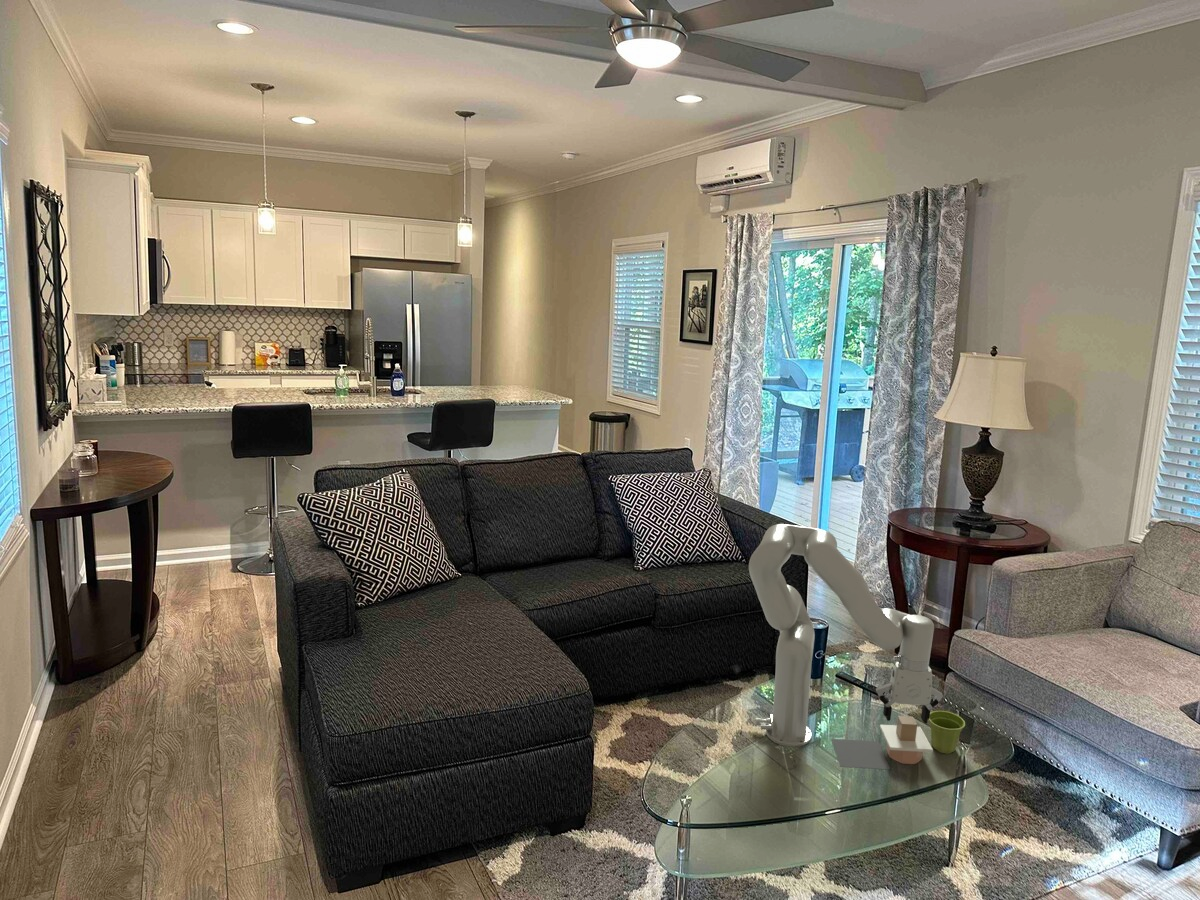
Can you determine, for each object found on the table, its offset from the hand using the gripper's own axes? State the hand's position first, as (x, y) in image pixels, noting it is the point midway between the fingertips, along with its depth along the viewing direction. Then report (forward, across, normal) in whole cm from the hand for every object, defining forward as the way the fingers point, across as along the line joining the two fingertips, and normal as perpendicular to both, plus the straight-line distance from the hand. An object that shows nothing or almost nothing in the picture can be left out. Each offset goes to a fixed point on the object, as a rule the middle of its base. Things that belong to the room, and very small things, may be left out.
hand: (905, 719), depth 226 cm
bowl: (+11, +1, 0) cm, 11 cm away
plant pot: (+11, +13, +5) cm, 17 cm away
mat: (+11, -11, -1) cm, 16 cm away
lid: (+6, +1, 0) cm, 6 cm away
